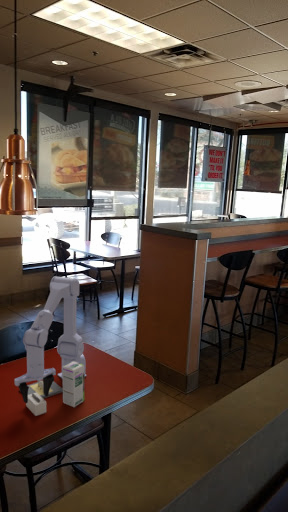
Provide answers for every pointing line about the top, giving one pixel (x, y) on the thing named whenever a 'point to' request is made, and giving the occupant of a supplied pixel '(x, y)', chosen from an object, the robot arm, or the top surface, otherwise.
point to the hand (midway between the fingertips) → (35, 398)
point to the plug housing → (36, 404)
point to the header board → (39, 389)
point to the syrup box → (73, 383)
